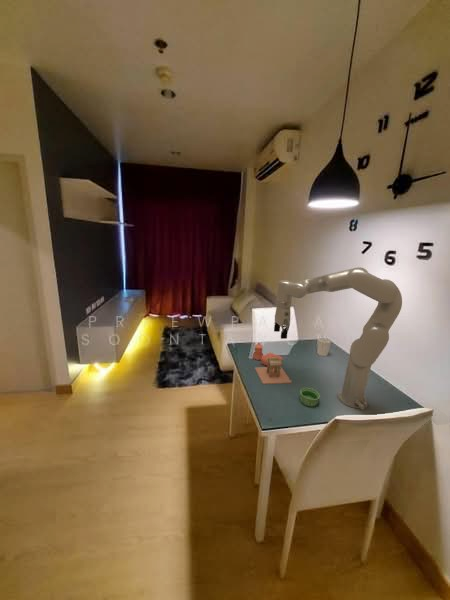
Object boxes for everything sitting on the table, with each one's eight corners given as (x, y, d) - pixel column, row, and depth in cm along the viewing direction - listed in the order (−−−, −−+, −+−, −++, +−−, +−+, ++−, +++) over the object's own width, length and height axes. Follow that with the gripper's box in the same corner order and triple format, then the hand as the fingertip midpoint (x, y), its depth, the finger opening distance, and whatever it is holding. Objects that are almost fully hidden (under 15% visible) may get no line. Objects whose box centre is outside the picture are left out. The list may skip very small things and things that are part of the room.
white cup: (322, 350, 174) (324, 337, 171) (331, 355, 166) (333, 342, 164) (313, 352, 171) (315, 338, 168) (321, 357, 164) (324, 343, 161)
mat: (291, 383, 132) (291, 382, 132) (263, 384, 130) (263, 383, 129) (280, 367, 147) (280, 366, 147) (254, 368, 145) (254, 367, 145)
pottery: (281, 363, 151) (283, 348, 149) (273, 368, 144) (274, 353, 142) (258, 354, 163) (259, 339, 161) (249, 358, 157) (250, 343, 154)
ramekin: (305, 408, 113) (306, 400, 112) (295, 396, 121) (296, 388, 120) (322, 406, 115) (323, 398, 114) (311, 394, 124) (313, 386, 122)
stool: (279, 377, 136) (281, 362, 134) (269, 377, 135) (271, 362, 133) (276, 371, 142) (277, 357, 139) (266, 371, 141) (267, 357, 138)
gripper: (297, 308, 121) (293, 341, 125) (283, 299, 137) (280, 328, 142) (283, 308, 120) (279, 341, 124) (270, 299, 136) (268, 329, 140)
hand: (280, 334), depth 133 cm, fingers open, 9 cm apart
